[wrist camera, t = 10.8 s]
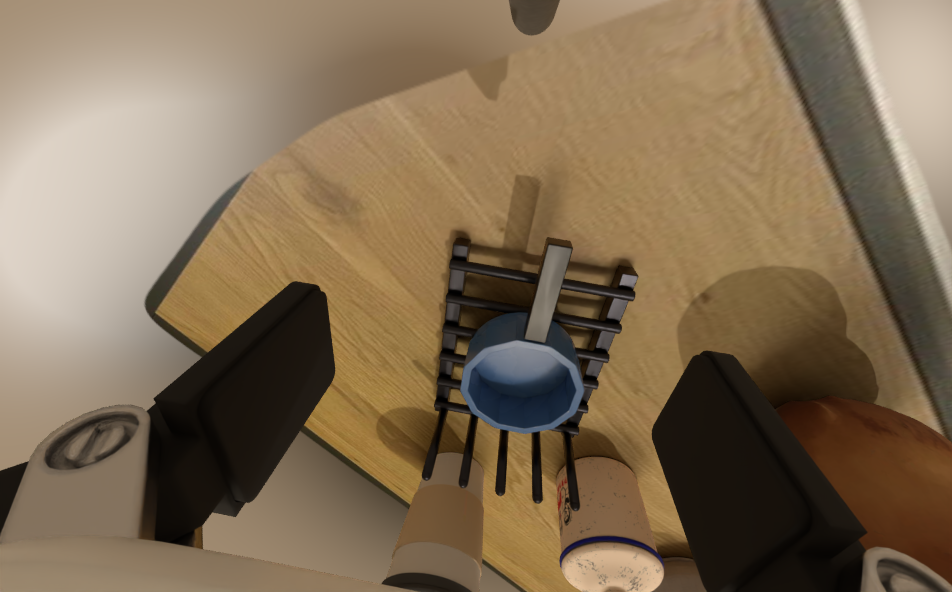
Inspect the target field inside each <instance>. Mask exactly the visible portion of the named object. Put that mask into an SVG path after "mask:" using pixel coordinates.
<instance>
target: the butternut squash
mask: <svg viewBox="0 0 952 592" xmlns="http://www.w3.org/2000/svg"><path fill="white" fill-rule="evenodd" d="M775 410H776V412H777V413H778V414H779V416H780V417H781V418H782V420H783V421H784V422H785V424H786V425H787V426H788V428H789V429H790V430H791V432H792V433H793V434H794V436H795V437H796V438H797V439H798V441H799V442H800V443H801V445H802V446H803V447H804V449H805V450H806V451H807V453H808V454H809V455H810V457H811V458H812V459H813V461H814V462H815V463H816V465H817V466H818V467H819V469H820V470H821V471H822V473H823V474H824V475H825V477H826V478H827V479H828V481H829V482H830V483H831V484H832V486H833V487H834V488H835V490H836V491H837V492H838V494H839V495H840V496H841V498H842V499H843V500H844V502H845V503H846V504H847V506H848V507H849V508H850V510H851V511H852V512H853V514H854V515H855V516H856V518H857V519H858V520H859V522H860V523H861V524H862V526H863V527H864V528H865V529H866V531H867V532H868V533H867V534H865V535H864V536H863V537H861V538H860V539H859V541H860V542H861V544H862V545H863V547H864V548H865V549H866V550H869V549H871V548H874V547H883V548H890V549H893V550H895V551H898V552H901V553H904V554H906V555H908V556H910V557H911V558H913V559H915V560H917V561H919V562H920V563H922V564H924V565H925V566H927V567H928V568H930V569H931V570H932V571H934V572H935V573H937V574H938V575H939V576H941V577H942V578H944V579H945V580H946V581H947V582H948V583H949V584H951V585H952V442H950V441H949V440H948V439H946V438H945V437H944V436H942V435H941V434H939V433H938V432H936V431H934V430H933V429H931V428H930V427H928V426H926V425H925V424H923V423H921V422H919V421H918V420H915V419H913V418H911V417H909V416H906V415H903V414H901V413H898V412H896V411H893V410H891V409H888V408H885V407H882V406H879V405H875V404H871V403H867V402H862V401H858V400H853V399H841V398H838V397H836V396H830V395H828V396H826V397H824V398H821V399H816V400H811V401H789V402H787V403H785V404H783V405H782V406H780V407H778V408H777V409H775Z"/></svg>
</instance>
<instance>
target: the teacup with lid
mask: <svg viewBox="0 0 952 592" xmlns="http://www.w3.org/2000/svg"><path fill="white" fill-rule="evenodd" d="M574 461H575V469H576V477H577V484H578V492H579V499H580V509H579V510H578V511H573V510H572V509H571V508H570V502H569V492H568V483H567V473H566V465H565V466H564V467H563V468H562V469H561V470H560V472H559V473H558V476H557V479H556V486H557V499H558V512H559V525H560V539H561V552H562V554H561V556H560V567H561V569H562V572H563V574H564V576H565V578H566V579H567V580H568V582H569V583H570V584H572V585H573V586H574V587H576V588H577V589H579V590H581V591H583V592H651V591H653V590H655V589H656V588H657V587H658V586H659V585H660V583H661V582H662V580H663V576H664V563H663V560H662V558H661V556H660V555H659V554H658V552H657V549H656V545H655V542H654V538H653V535H652V531H651V528H650V524H649V521H648V517H647V514H646V511H645V507H644V504H643V500H642V497H641V493H640V490H639V486H638V483H637V479H636V477H635V475H634V473H633V472H632V471H631V470H630V469H629V468H628V467H627V466H626V465H624V464H622V463H621V462H619V461H616V460H613V459H610V458H605V457H585V458H581V459H577V460H574Z"/></svg>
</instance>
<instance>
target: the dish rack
mask: <svg viewBox="0 0 952 592" xmlns="http://www.w3.org/2000/svg"><path fill="white" fill-rule="evenodd" d="M470 246H471V240H468V239H463V238H456V240H455V242H454V244H453V251H452V259H451V260H450V264H449V269H450V278H449V287H448V293H447V295H446V302H447V305H446V314H445V323H444V325H443V329H442V332H443V341H442V350H441V352H440V356H439V360H440V368H439V376H438V378H437V385H438V386H437V395H436V400H435V404H434V407H435V411H440V412H439V415H438V419H437V422H436V426H435V429H434V433H433V437H432V440H431V444H430V447H429V451H428V454H427V458H426V461H425V465H424V469H423V472H422V478H423V480H425V481H428V480H430V479H431V477H432V473H433V469H434V465H435V461H436V457H437V453H438V449H439V445H440V441H441V437H442V433H443V429H444V426H445V422H446V418H447V414H448V410H449V411H454V412H460V413H465V414H470V420H469V426H468V431H467V437H466V443H465V448H464V454H463V459H462V465H461V470H460V476H459V482H458V484H459V486H460V487H461V488H466V487H467V486H468V482H469V476H470V469H471V463H472V456H473V450H474V443H475V436H476V430H477V423H478V416H476V415H475V414H473V413H472V412H471V410H470V408H469V406H468V405H464V404H459V403H453V402H449V399H450V392H451V388H456V389H460V388H461V382H462V380H457V379H452V377H453V370H454V363H459V364H465V360H466V355H461V354H456V348H457V341H458V335H459V336H465V337H470V338H473V336H474V335H475V333H476V332H477V331H478V329H474V328H468V327H463V326H460V319H461V311H462V305H464V306H469V307H475V308H480V309H486V310H491V311H497V312H502V313H507V314H509V313H517V312H525V313H528V311H529V307H525V306H519V305H514V304H508V303H503V302H497V301H492V300H486V299H481V298H475V297H470V296H464V289H465V282H466V275H467V272H470V273H475V274H481V275H487V276H492V277H498V278H503V279H509V280H515V281H520V282H526V283H531V284H535V283H536V279H537V275H538V274H536V273H530V272H524V271H519V270H513V269H507V268H502V267H496V266H490V265H485V264H479V263H473V262H468V260H469V253H470ZM637 279H638V275H637V273H636V271H635V270H634V268H630V267H624V266H618V268H617V271H616V274H615V277H614V279H613V282H612V285H611V287H609V286H603V285H598V284H592V283H586V282H581V281H575V280H569V279H564V281H563V284H562V288H561V289H565V290H571V291H576V292H582V293H587V294H593V295H599V296H604V297H607V298H606V301H605V304H604V307H603V309H602V312H601V315H600V317H599V320H597V319H591V318H586V317H580V316H575V315H569V314H563V313H558V312H554V315H553V319H552V321H554V322H557V323H562V324H568V325H573V326H579V327H584V328H590V329H595V331H594V334H593V336H592V339H591V342H590V345H589V347H588V350H587V349H582V348H576V347H575V350H576V354H577V357H578V358H583V359H584V361H583V364H582V366H581V374H582V379H583V384H584V390H585V391H584V393H583V396H582V399H581V401H580V404H579V406H578V409H577V411H576V413H575V414H574V415H573V416H571V417H570V418H568V419H567V420H565V421H564V422H562V423H561V424H560V425H558V426H557V427H555V428H553V429H550V430H552V431H557V432H561V434H562V436H563V445H564V454H565V464H566V473H567V483H568V492H569V502H570V508H571V509H572V510H573V511H578V510H579V509H580V499H579V492H578V484H577V477H576V469H575V461H574V454H573V446H572V439H571V437H572V438H573V437H574V435H578V434H579V427H578V425H579V422H580V420H581V418H582V415H583V413H588V405H587V403H588V400H589V398H590V395H591V393H592V390H593V389H597V388H598V384H599V383H598V380H597V378H598V375H599V373H600V370H601V368H602V366H603V363H608V361H609V354H608V351H609V348H610V346H611V343H612V341H613V338H614V336H615V333H617V334H620V332H621V330H622V325H621V324H619V323H620V321H621V319H622V316H623V314H624V311H625V309H626V306H627V304H628V301H633V300H634V299H635V291H633V289H634V286H635V284H636V281H637ZM508 433H509V431H508V430H503V429H500V438H499V450H498V462H497V475H496V487H495V492H496V494H497V495H498V496H502V495H504V494H505V487H506V469H507V451H508ZM532 498H533V501H534V502H535V503H537V504H539V503H541V502H542V500H543V495H542V469H541V444H540V431H538V432H532Z"/></svg>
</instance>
